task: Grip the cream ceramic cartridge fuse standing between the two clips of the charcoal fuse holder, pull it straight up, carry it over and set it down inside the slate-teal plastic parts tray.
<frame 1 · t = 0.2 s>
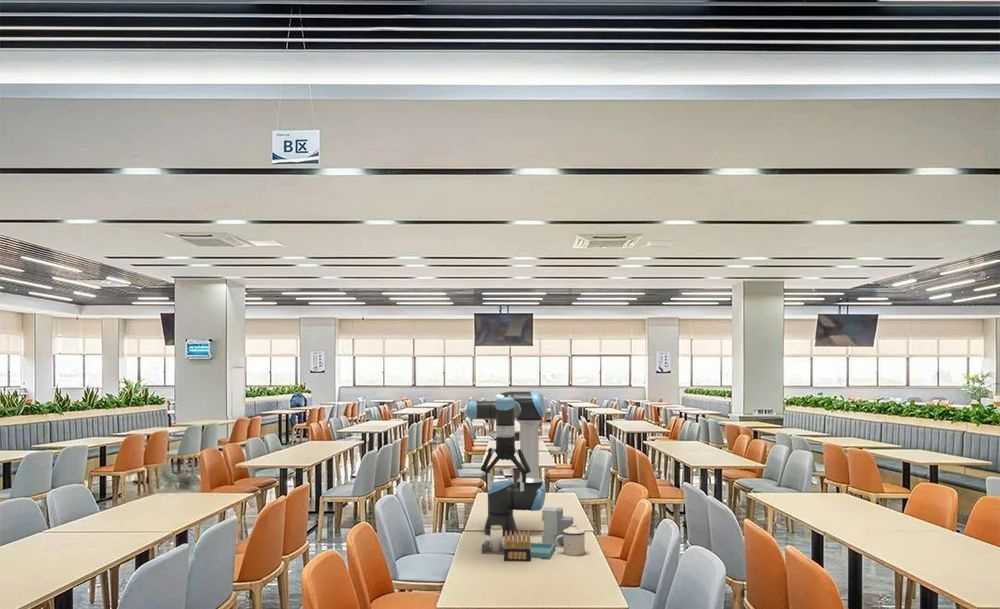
hand: (505, 490, 298), 27 cm above the table, fingers open, 13 cm apart
circuit breaker: (559, 545, 321), on the table
teacup with lid: (570, 553, 307), on the table
parts tray: (533, 553, 307), on the table
fuse holder: (496, 551, 310), on the table
ammunition clip: (517, 562, 294), on the table
fuse: (496, 550, 310), resting on fuse holder
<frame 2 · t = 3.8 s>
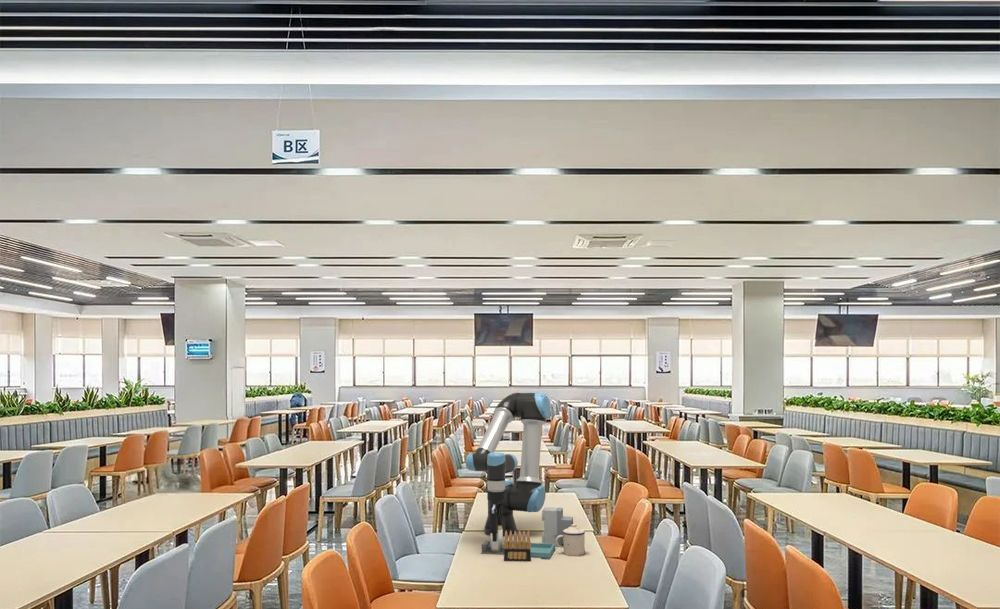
hand: (496, 547, 310), 2 cm above the table, fingers closed on fuse, 5 cm apart
fuse: (496, 550, 310), resting on fuse holder, touching gripper
everything else where it was.
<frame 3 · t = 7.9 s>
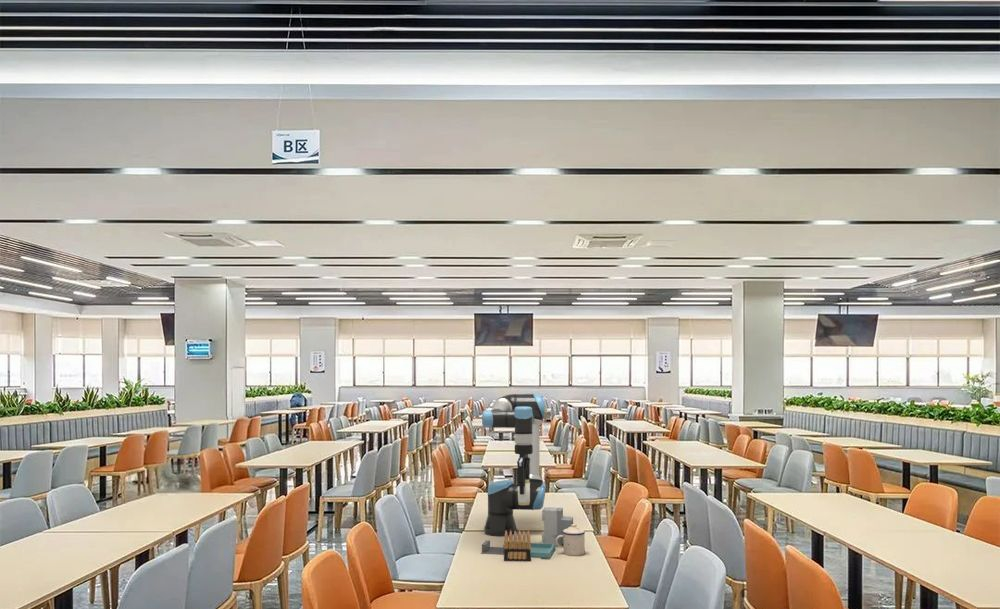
hand: (524, 501, 309), 21 cm above the table, fingers closed on fuse, 5 cm apart
fuse: (523, 504, 309), point 20 cm above the table, touching gripper
everything else where it was.
when the fingers open (3 cm above the table, at t = 11.9 s): fuse stays where it is, resting on parts tray.
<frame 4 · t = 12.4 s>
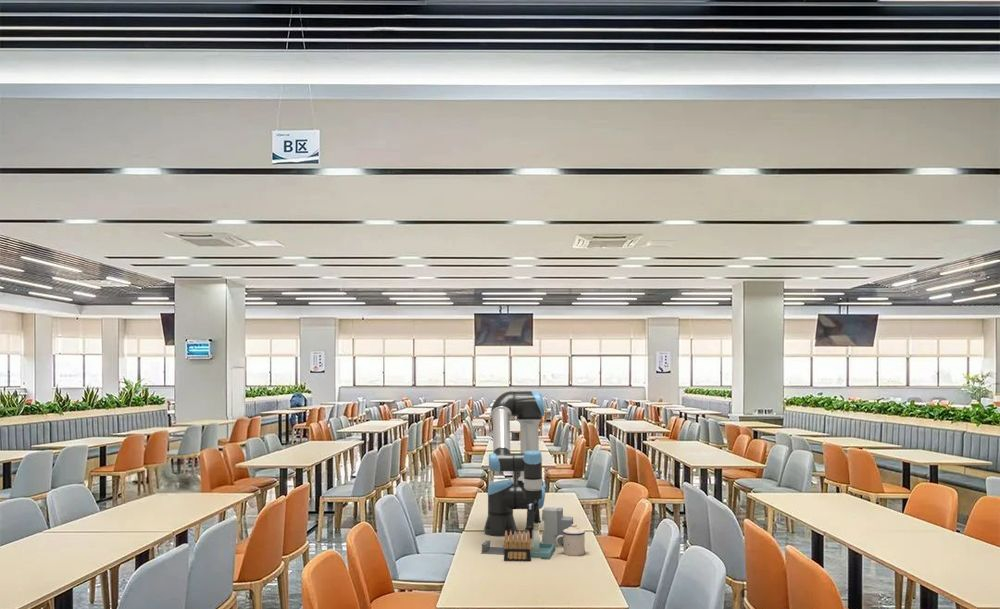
hand: (533, 542, 307), 4 cm above the table, fingers open, 12 cm apart
fuse: (533, 551, 307), point 1 cm above the table, touching parts tray
everything else where it was.
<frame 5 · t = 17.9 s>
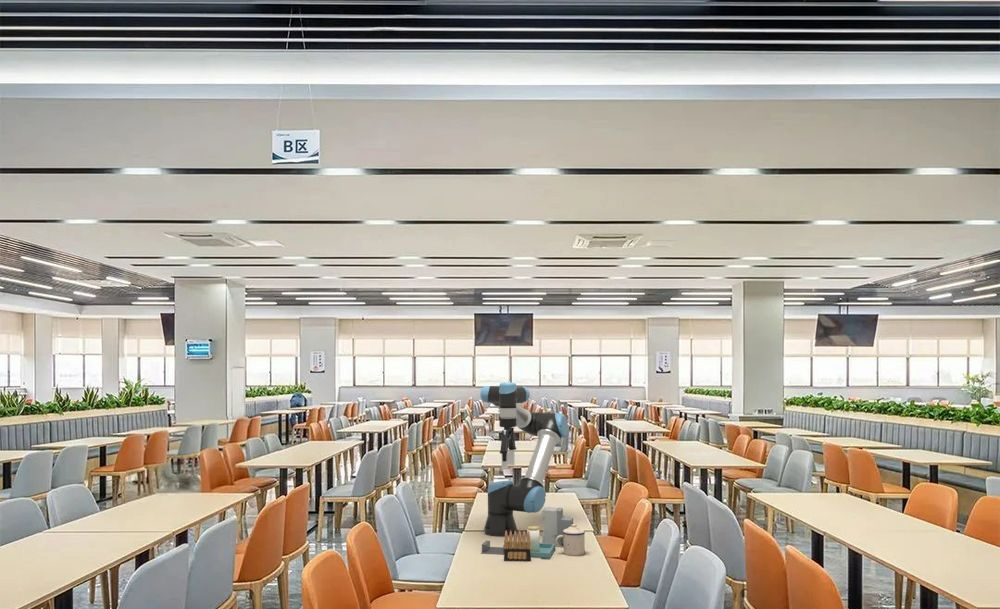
hand: (508, 466, 327), 33 cm above the table, fingers open, 13 cm apart
nothing on the table moved.
at the end: fuse inside the target area on the parts tray (0.1 cm from its centre), point 0.8 cm above the parts tray's base; fuse tilted 0°; the gripper is holding nothing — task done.
